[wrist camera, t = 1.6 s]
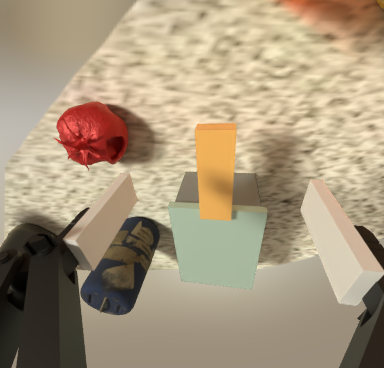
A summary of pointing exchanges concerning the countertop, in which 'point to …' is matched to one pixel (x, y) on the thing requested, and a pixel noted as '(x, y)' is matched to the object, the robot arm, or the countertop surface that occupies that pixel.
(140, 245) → the canister
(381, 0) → the plant pot
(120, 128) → the pomegranate
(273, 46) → the countertop surface
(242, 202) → the tub
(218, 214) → the lid
